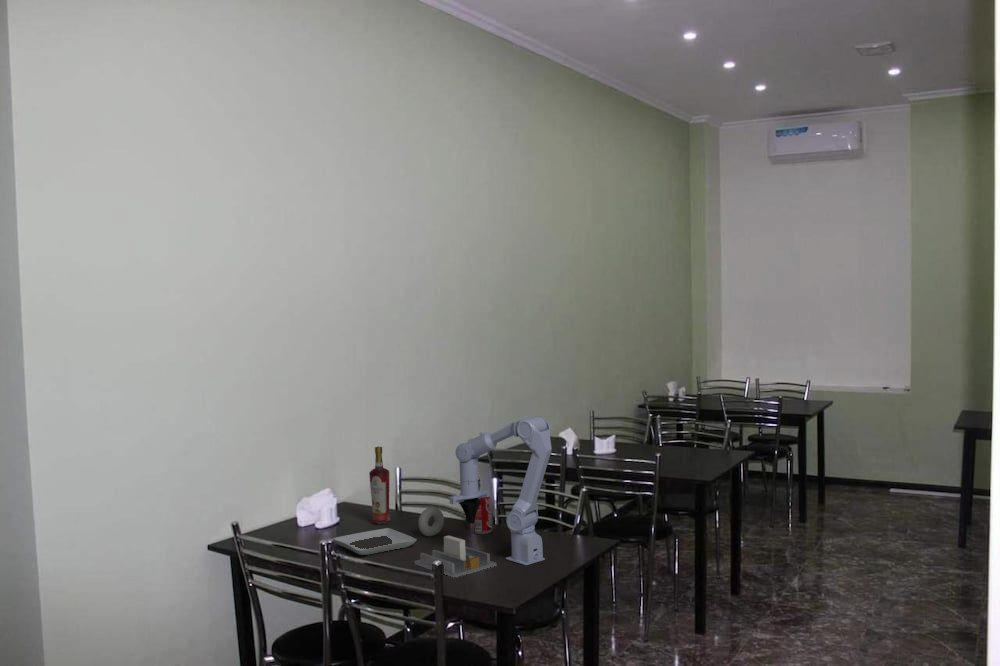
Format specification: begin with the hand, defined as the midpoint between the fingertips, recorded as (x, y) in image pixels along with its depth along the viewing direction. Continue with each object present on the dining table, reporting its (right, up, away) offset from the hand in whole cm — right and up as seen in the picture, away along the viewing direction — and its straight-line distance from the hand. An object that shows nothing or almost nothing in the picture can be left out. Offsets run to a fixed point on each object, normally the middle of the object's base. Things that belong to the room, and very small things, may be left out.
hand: (470, 522), depth 270 cm
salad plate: (-32, -11, +11) cm, 36 cm away
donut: (-14, -10, +22) cm, 28 cm away
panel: (-4, -9, -13) cm, 16 cm away
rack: (-4, -10, -13) cm, 17 cm away
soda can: (+3, -9, +25) cm, 27 cm away
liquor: (-34, -10, +43) cm, 56 cm away
